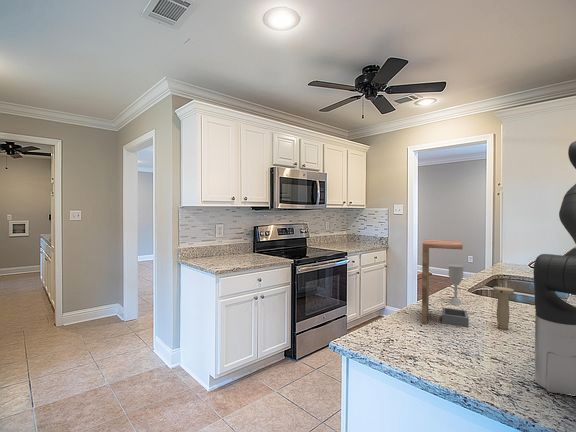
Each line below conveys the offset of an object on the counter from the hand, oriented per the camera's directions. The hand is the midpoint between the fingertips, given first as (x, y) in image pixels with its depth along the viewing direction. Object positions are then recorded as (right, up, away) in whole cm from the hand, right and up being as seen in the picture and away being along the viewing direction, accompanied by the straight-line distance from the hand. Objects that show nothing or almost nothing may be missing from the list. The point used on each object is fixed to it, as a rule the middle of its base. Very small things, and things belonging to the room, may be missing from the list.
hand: (542, 284), depth 111 cm
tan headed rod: (-10, -18, +6) cm, 21 cm away
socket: (-25, -17, +13) cm, 33 cm away
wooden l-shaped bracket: (-29, -17, +15) cm, 37 cm away
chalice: (-12, -17, +36) cm, 42 cm away
